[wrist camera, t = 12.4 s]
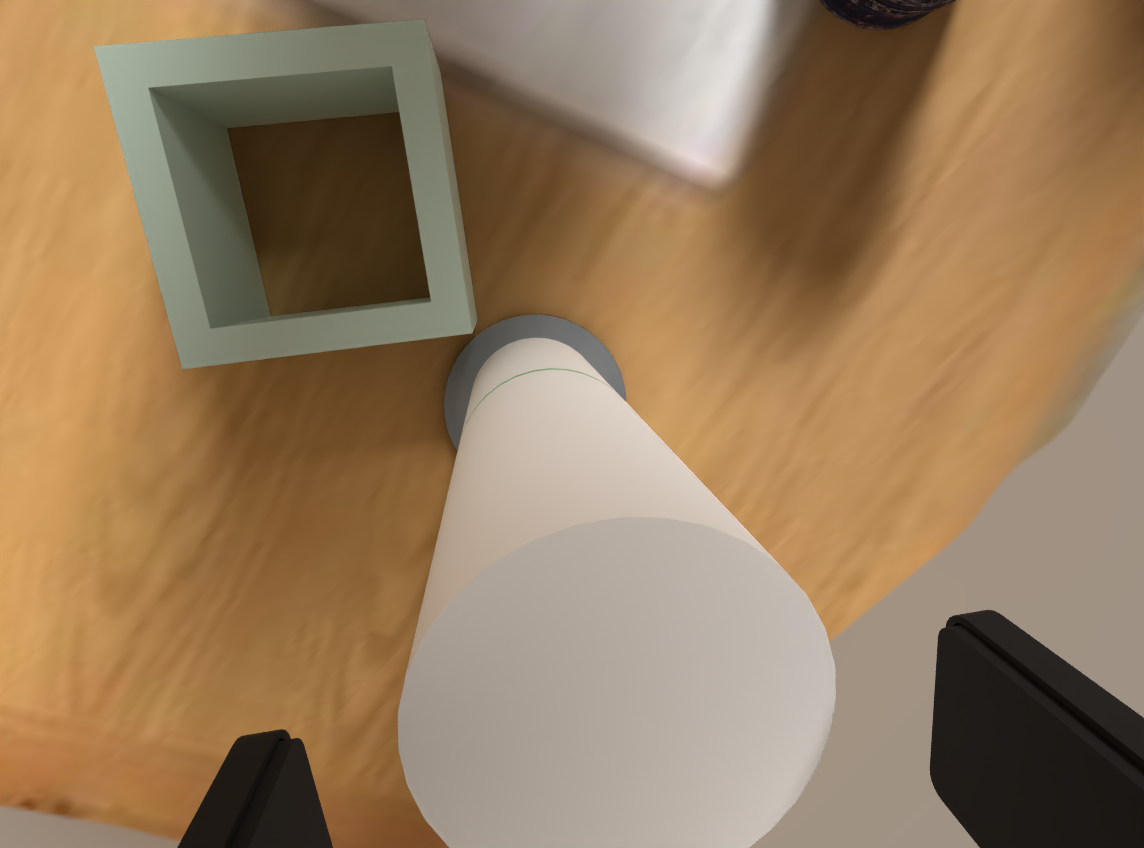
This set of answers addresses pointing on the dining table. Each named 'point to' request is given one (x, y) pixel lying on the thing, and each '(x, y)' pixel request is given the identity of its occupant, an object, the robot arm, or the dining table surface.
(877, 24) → the storage jar
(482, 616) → the cylindrical container
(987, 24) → the dining table surface
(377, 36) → the collar
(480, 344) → the grey round disc
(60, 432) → the dining table surface
